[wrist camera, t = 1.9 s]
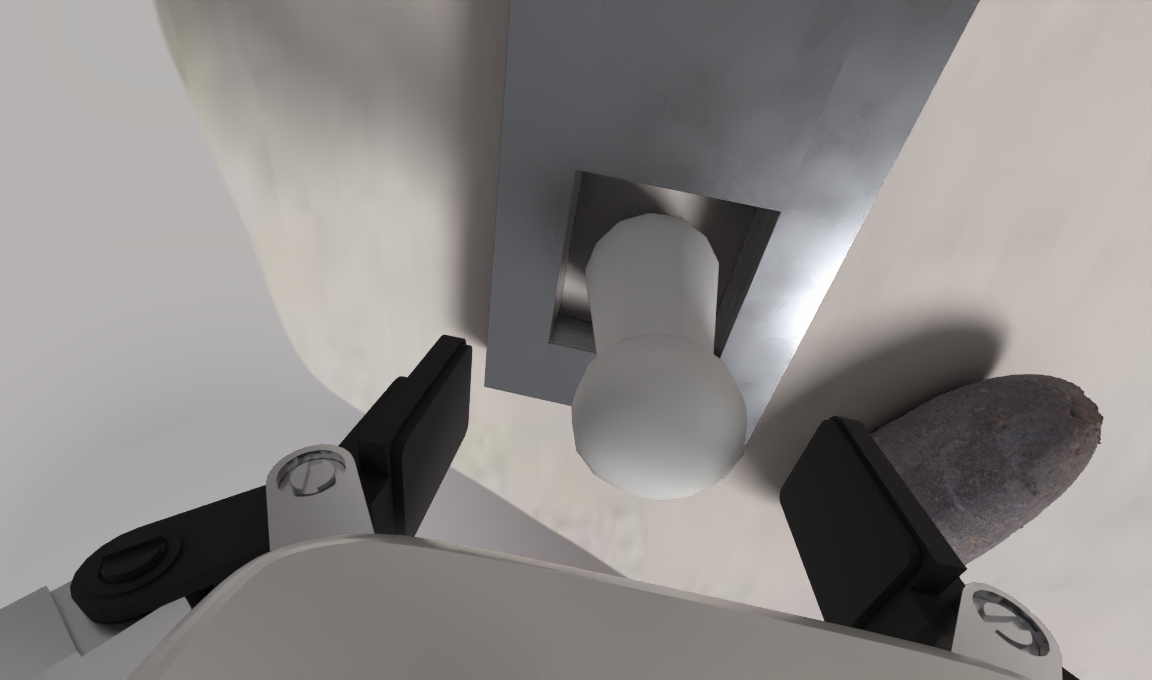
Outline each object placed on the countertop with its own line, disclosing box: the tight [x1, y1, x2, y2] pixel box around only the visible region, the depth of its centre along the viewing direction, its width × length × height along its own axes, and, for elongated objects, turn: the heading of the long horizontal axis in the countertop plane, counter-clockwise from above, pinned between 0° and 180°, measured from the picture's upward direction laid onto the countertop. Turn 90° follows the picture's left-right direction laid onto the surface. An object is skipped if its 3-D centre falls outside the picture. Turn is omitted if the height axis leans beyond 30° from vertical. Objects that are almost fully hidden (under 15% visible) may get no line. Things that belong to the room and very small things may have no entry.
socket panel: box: [484, 0, 980, 445], centre depth 15 cm, size 14×30×3 cm, turn 171°
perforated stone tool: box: [870, 374, 1103, 565], centre depth 21 cm, size 15×5×7 cm, turn 146°
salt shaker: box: [572, 213, 747, 500], centre depth 15 cm, size 6×6×13 cm
